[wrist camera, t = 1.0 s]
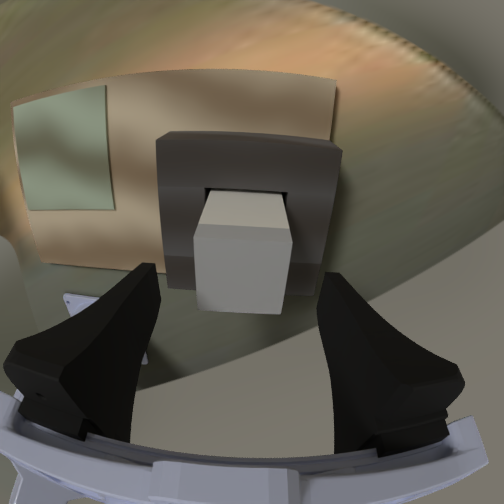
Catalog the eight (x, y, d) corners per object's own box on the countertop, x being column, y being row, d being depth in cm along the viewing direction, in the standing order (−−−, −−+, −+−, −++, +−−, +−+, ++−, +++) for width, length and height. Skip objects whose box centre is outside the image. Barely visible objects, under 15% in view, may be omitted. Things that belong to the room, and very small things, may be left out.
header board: (303, 274, 24) (310, 306, 20) (45, 257, 23) (25, 281, 20) (333, 80, 16) (351, 79, 12) (16, 100, 15) (-15, 109, 12)
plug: (272, 233, 21) (280, 314, 14) (215, 230, 21) (197, 309, 14) (277, 179, 19) (292, 242, 12) (216, 176, 19) (193, 237, 12)
